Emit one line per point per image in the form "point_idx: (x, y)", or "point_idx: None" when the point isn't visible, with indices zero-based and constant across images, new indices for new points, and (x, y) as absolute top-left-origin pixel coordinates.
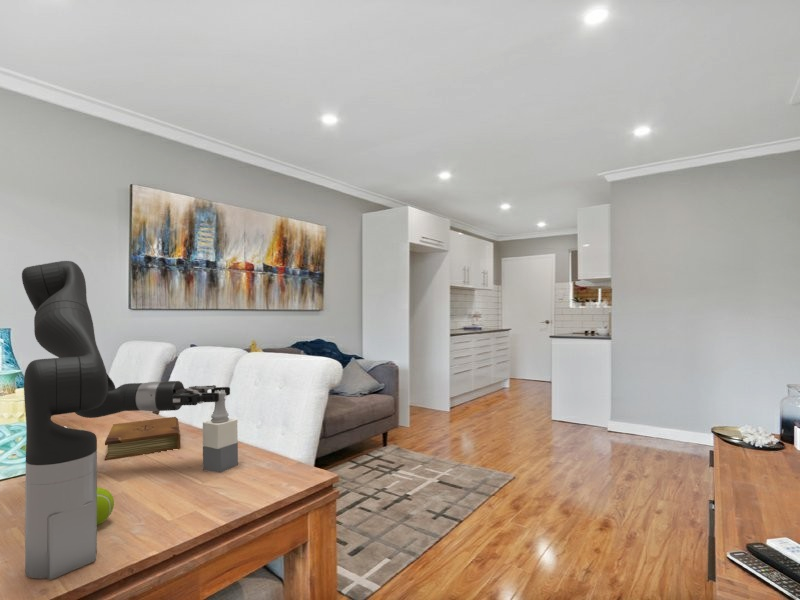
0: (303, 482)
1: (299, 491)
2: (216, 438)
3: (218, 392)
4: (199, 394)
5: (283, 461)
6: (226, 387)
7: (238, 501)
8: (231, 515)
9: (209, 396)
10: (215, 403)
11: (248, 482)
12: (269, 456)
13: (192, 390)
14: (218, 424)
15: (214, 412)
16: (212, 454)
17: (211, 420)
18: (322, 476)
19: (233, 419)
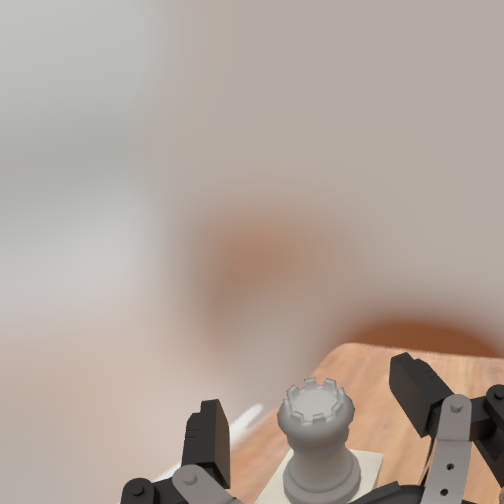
0: (374, 360)
1: (405, 350)
2: (376, 483)
3: (342, 392)
4: (467, 400)
5: (277, 427)
6: (215, 406)
7: (468, 389)
8: (498, 367)
9: (434, 377)
10: (341, 448)
11: (403, 426)
12: (240, 463)
13: (453, 470)
14: (374, 457)
15: (349, 470)
16: None
17: (351, 496)
18: (345, 351)
19: (291, 453)
